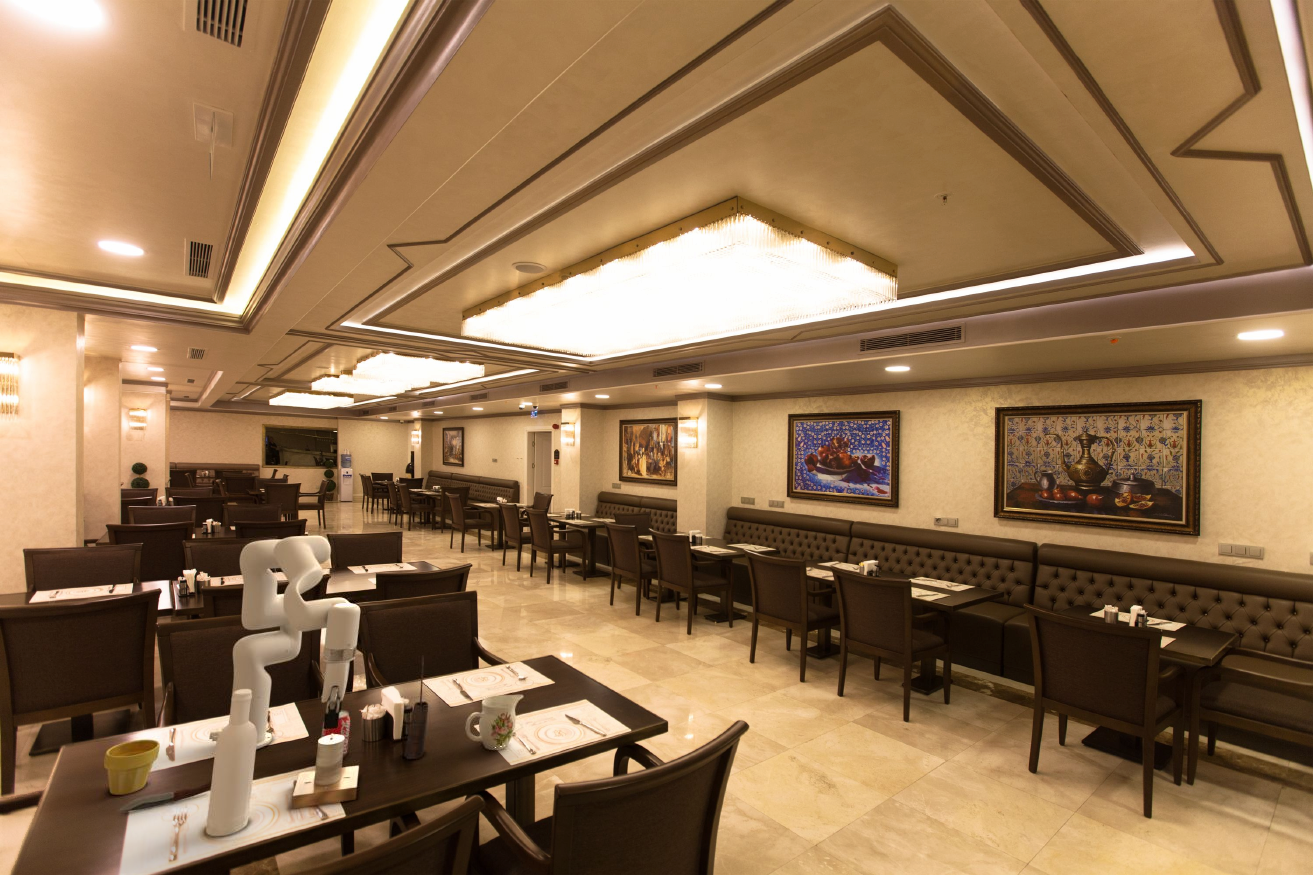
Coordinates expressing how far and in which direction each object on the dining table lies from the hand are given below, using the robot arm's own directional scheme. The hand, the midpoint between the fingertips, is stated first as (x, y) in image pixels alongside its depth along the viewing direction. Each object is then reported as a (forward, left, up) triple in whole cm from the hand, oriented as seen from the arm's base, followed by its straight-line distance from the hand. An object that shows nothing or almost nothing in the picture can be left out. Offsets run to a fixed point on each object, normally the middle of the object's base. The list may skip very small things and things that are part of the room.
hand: (332, 720), depth 154 cm
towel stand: (0, 0, -18) cm, 18 cm away
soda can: (0, +20, -18) cm, 27 cm away
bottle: (-19, -10, -18) cm, 28 cm away
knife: (-34, +5, -18) cm, 38 cm away
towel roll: (0, 0, -15) cm, 15 cm away
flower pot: (-45, +16, -18) cm, 51 cm away
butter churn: (+22, +14, -18) cm, 32 cm away
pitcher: (+44, +15, -18) cm, 50 cm away
